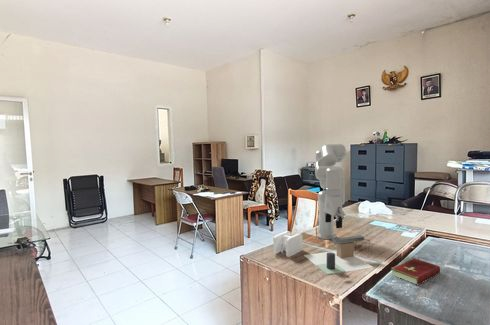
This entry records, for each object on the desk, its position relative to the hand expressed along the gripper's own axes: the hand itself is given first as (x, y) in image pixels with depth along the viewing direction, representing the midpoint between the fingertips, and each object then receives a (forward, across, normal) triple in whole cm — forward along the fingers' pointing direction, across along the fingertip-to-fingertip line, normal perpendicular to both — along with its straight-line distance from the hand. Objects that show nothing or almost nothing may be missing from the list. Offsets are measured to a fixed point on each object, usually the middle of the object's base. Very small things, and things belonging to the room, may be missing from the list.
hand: (333, 224), depth 139 cm
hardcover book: (+22, +20, +32) cm, 44 cm away
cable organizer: (+22, -21, -17) cm, 35 cm away
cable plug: (+19, +6, -5) cm, 21 cm away
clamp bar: (+12, -6, +13) cm, 19 cm away
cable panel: (+22, -1, +3) cm, 22 cm away
